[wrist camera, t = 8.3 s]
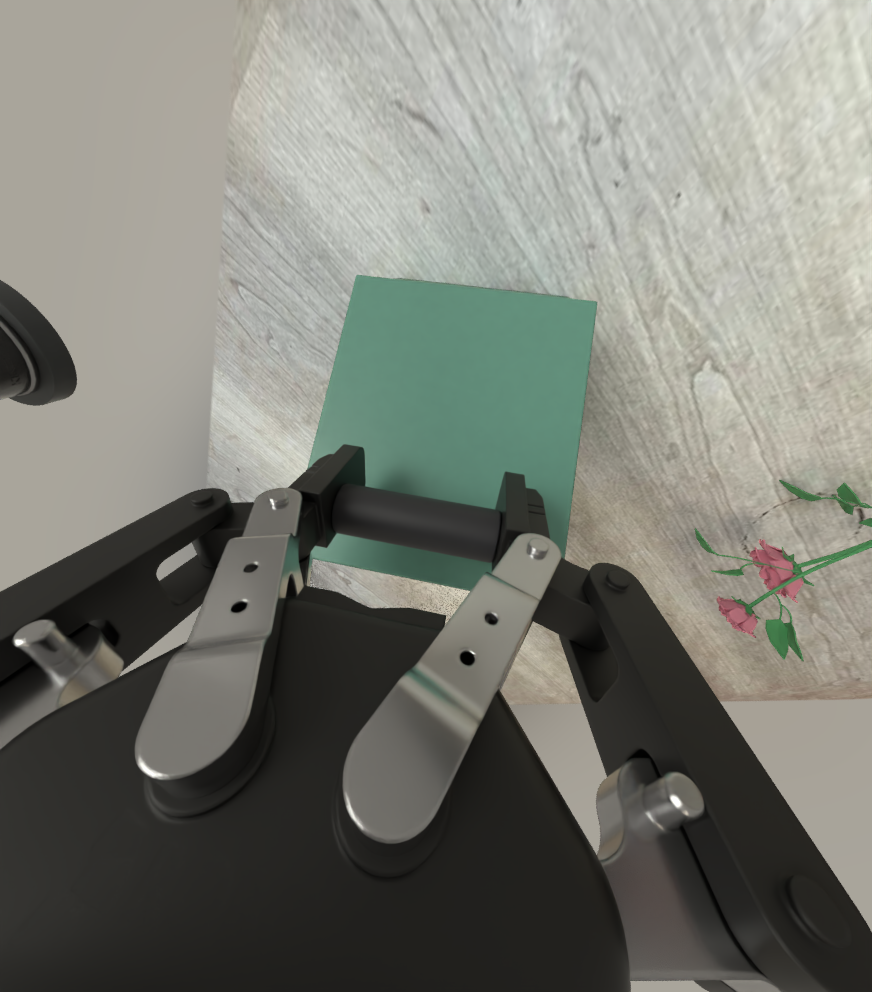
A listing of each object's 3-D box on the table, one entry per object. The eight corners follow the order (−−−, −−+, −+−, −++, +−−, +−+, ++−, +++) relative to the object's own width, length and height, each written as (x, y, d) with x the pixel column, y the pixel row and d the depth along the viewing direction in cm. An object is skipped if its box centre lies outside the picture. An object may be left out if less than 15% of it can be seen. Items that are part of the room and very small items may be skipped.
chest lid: (553, 605, 14) (600, 635, 9) (294, 553, 15) (219, 555, 10) (591, 313, 16) (646, 215, 11) (360, 286, 17) (323, 188, 13)
